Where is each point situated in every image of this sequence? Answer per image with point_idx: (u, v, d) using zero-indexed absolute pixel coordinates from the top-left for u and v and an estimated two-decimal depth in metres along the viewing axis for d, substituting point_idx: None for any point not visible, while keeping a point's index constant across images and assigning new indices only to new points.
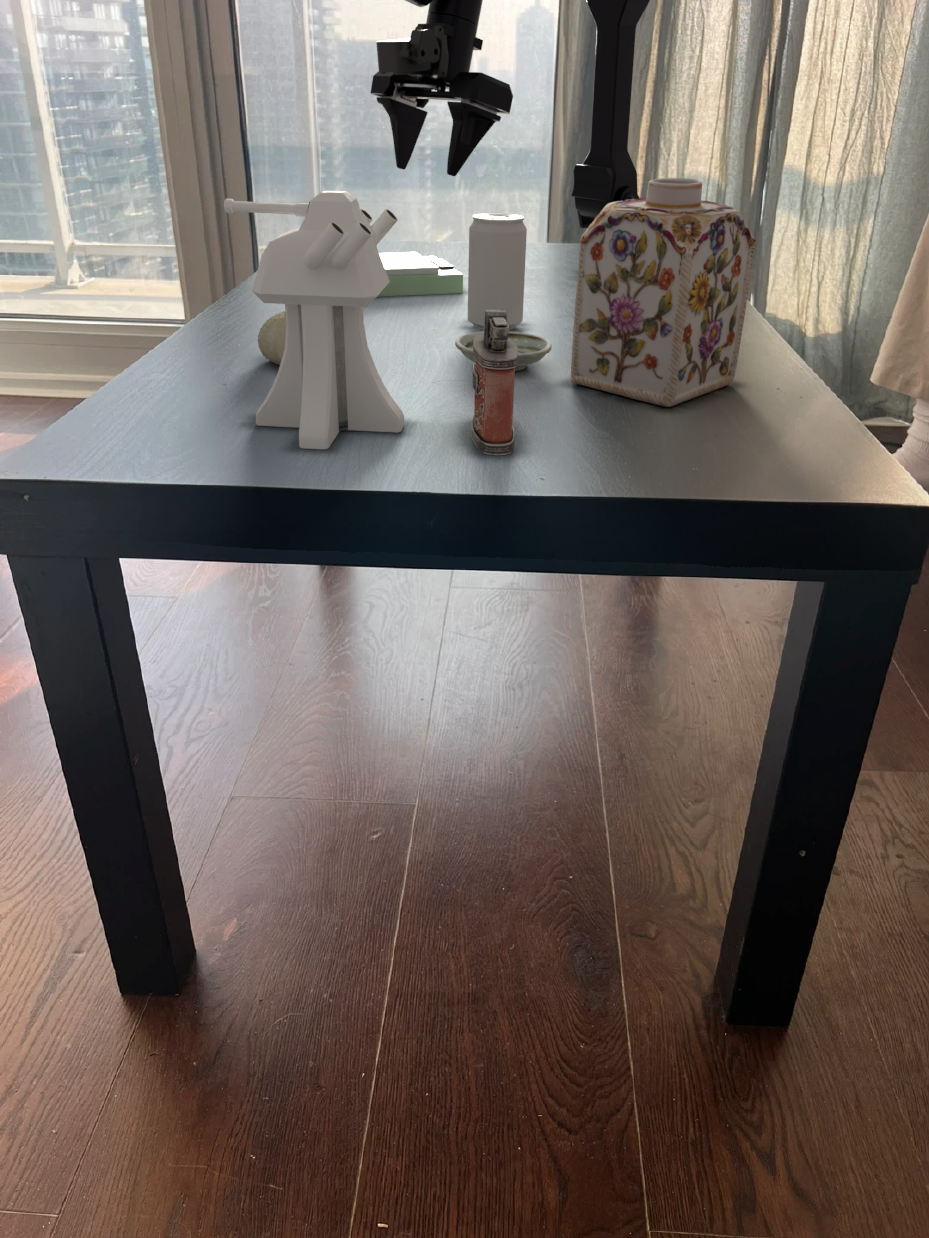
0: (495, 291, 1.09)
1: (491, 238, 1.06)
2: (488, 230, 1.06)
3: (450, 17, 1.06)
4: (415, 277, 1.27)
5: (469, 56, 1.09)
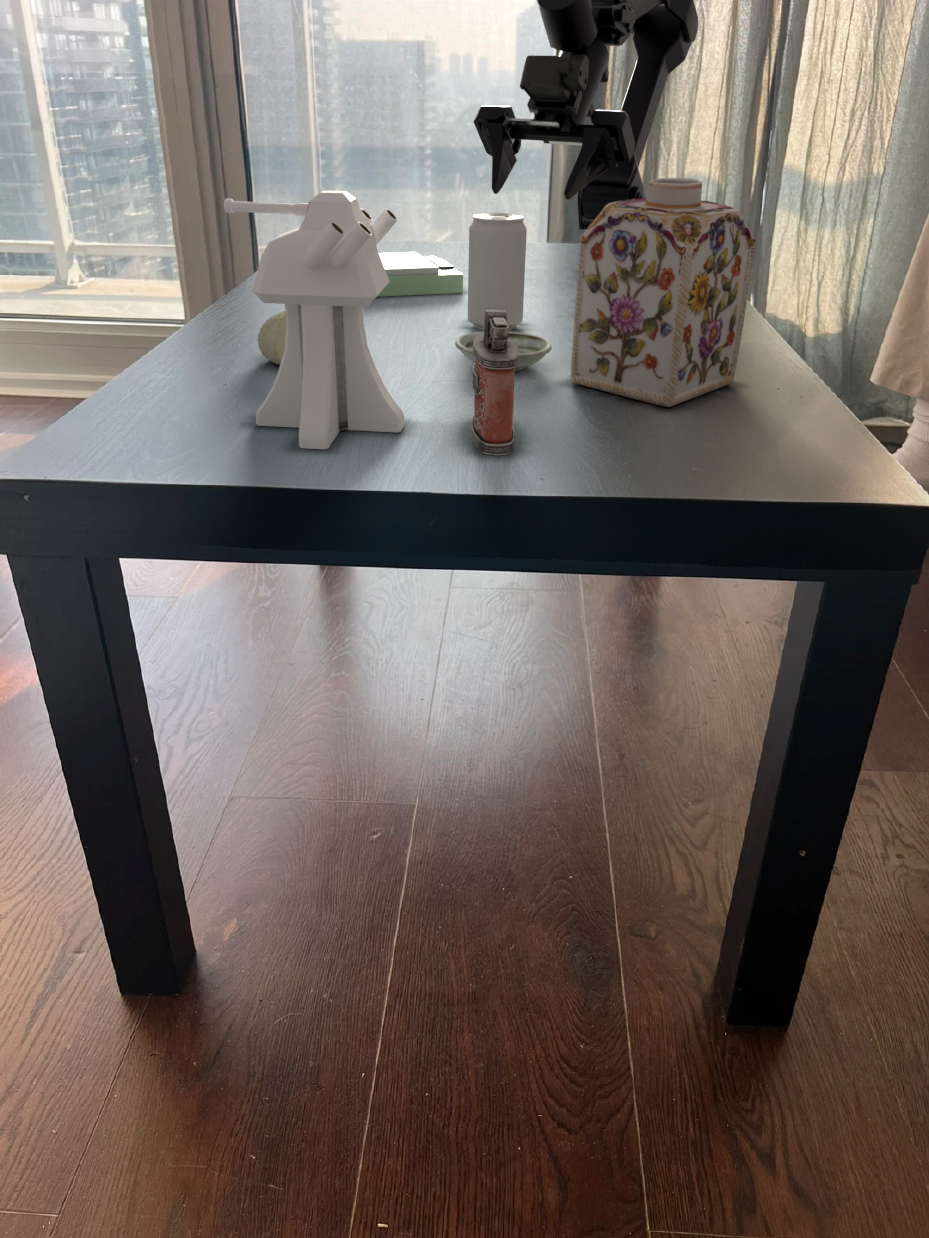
0: (495, 291, 1.09)
1: (491, 238, 1.06)
2: (488, 230, 1.06)
3: None
4: (415, 277, 1.27)
5: (587, 113, 1.15)
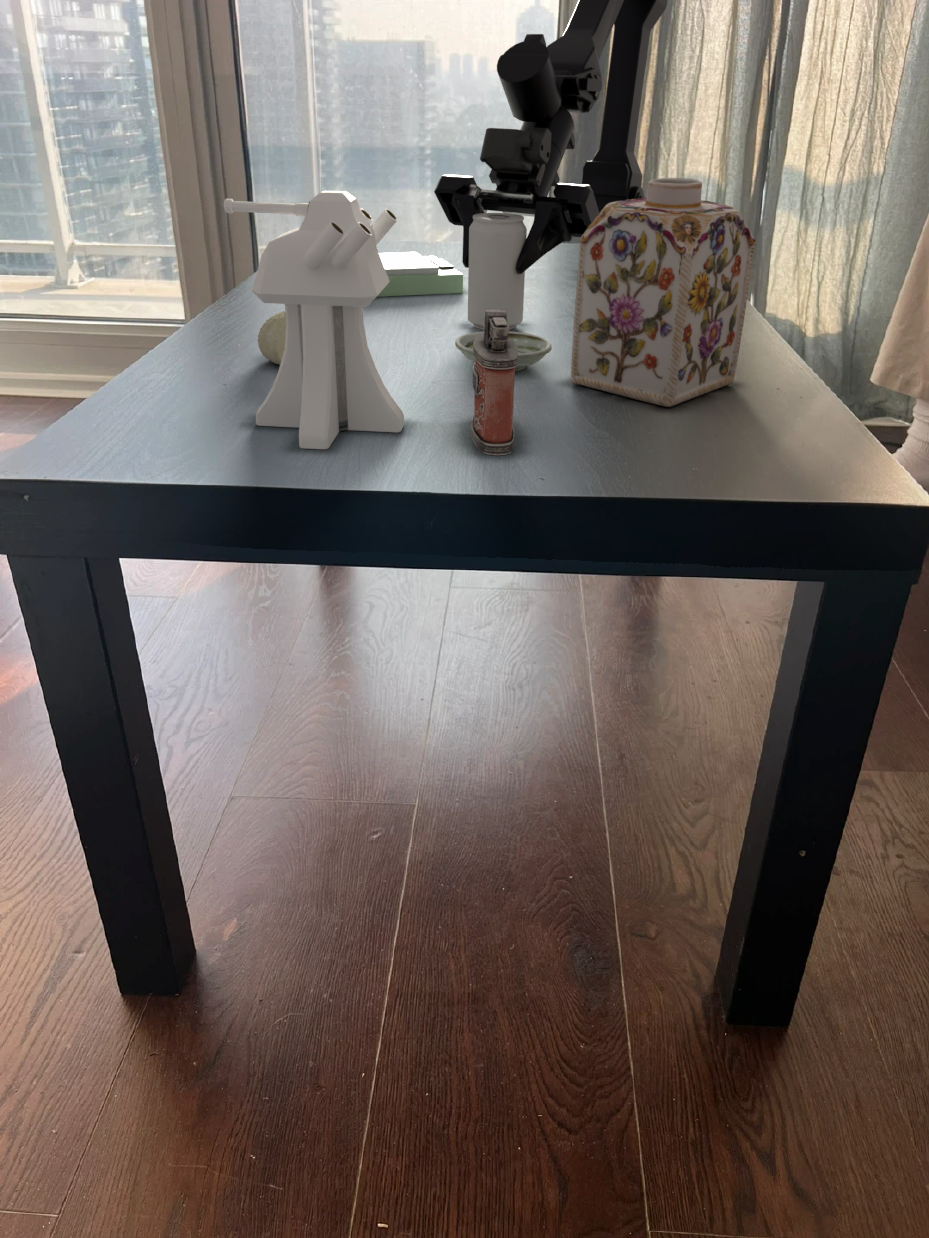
0: (495, 292, 1.09)
1: (491, 238, 1.06)
2: (488, 230, 1.06)
3: None
4: (415, 277, 1.27)
5: (551, 184, 1.12)
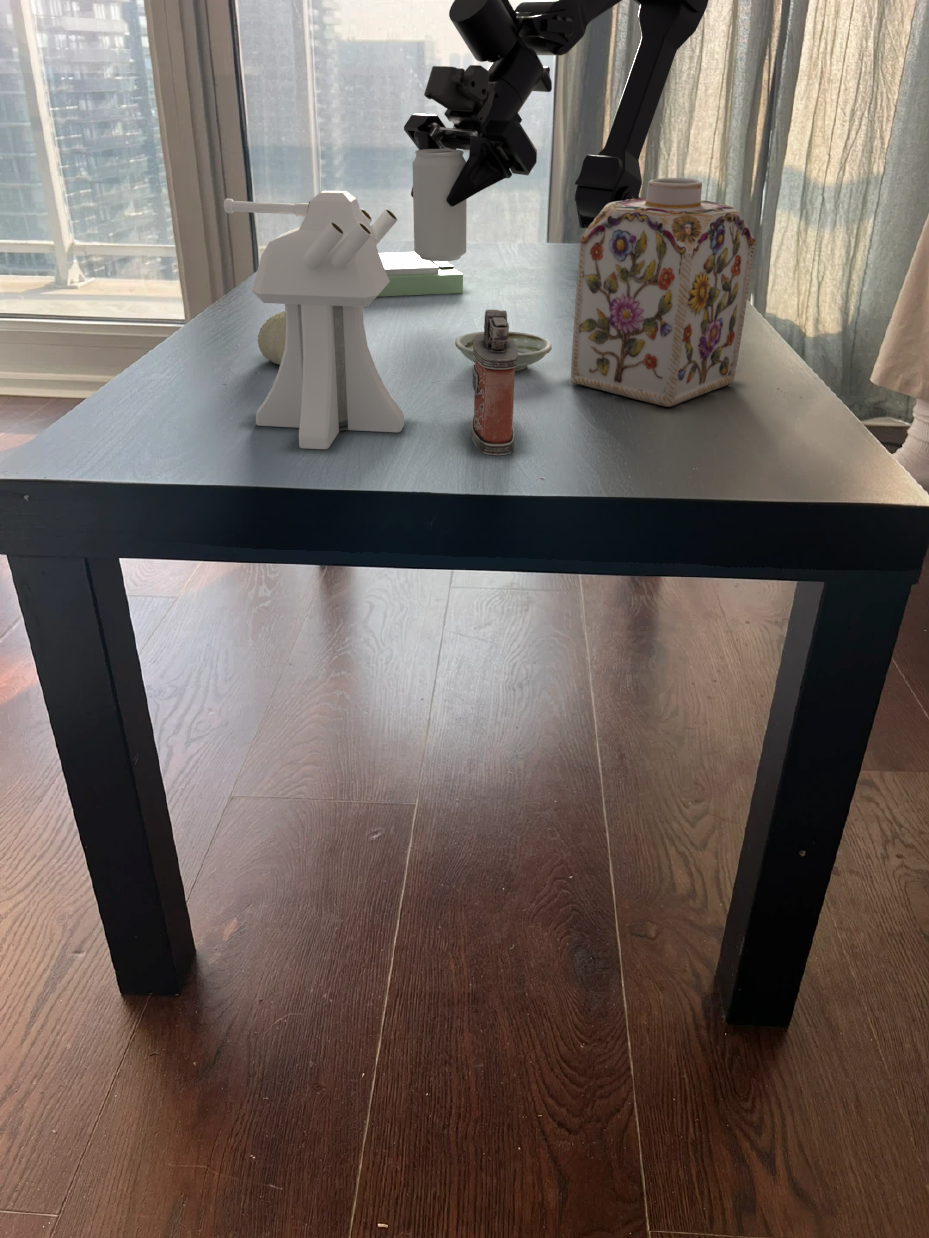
0: (428, 222, 1.15)
1: (423, 170, 1.13)
2: (421, 163, 1.13)
3: (503, 81, 1.14)
4: (415, 277, 1.27)
5: None
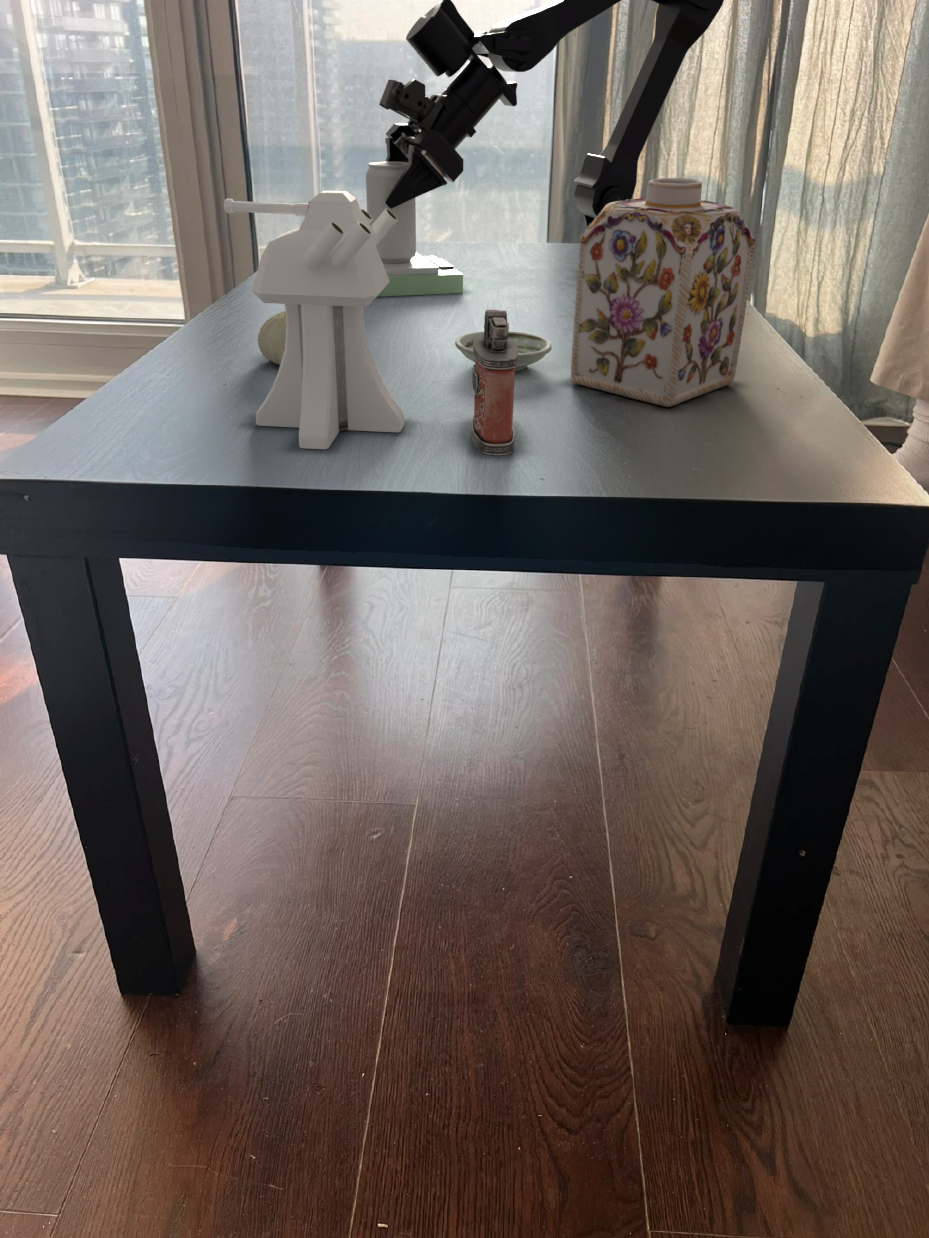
0: None
1: (368, 180, 1.25)
2: (367, 173, 1.25)
3: (454, 95, 1.22)
4: (415, 277, 1.27)
5: (456, 134, 1.24)
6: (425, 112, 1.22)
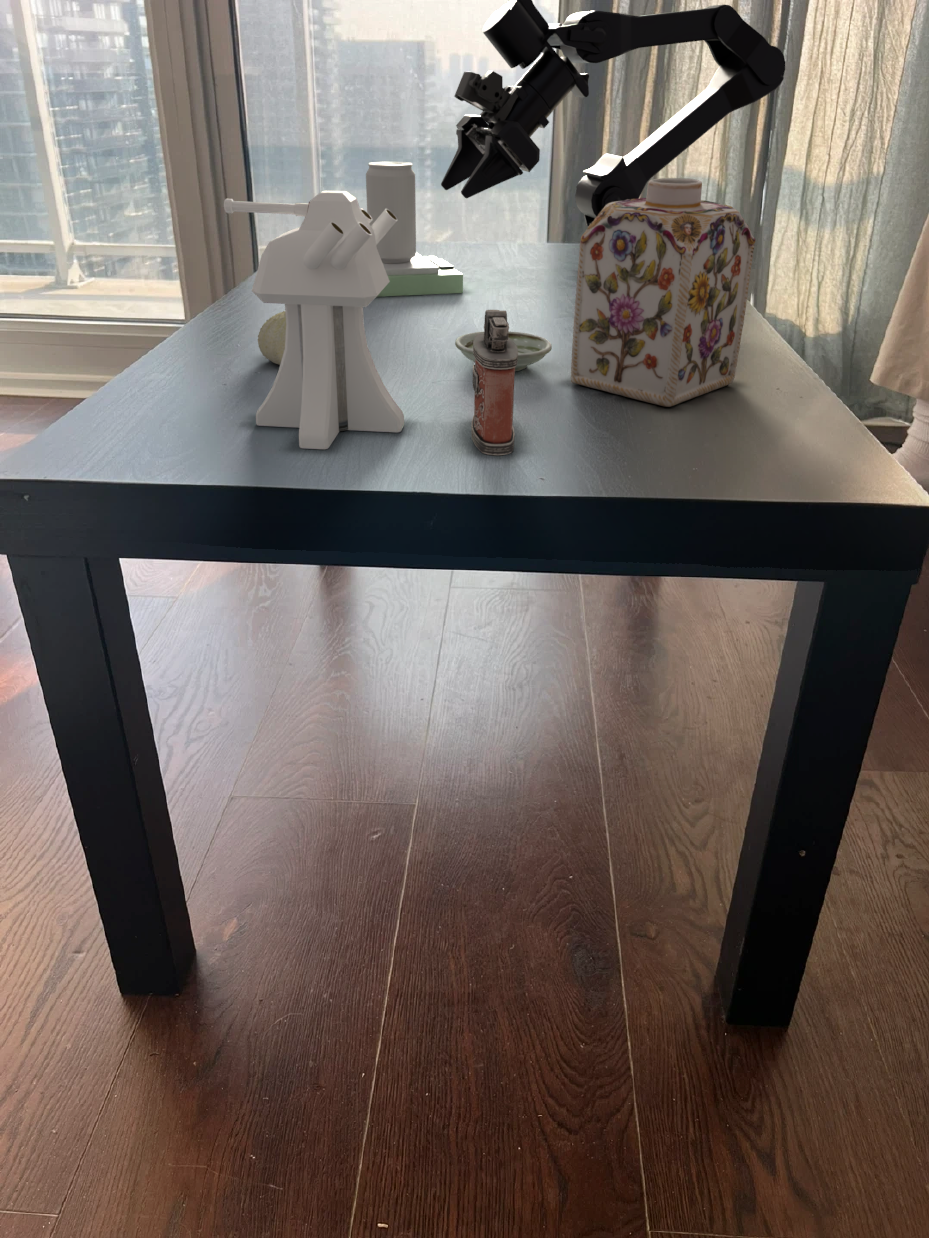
0: None
1: (368, 180, 1.25)
2: (368, 173, 1.25)
3: (529, 86, 1.25)
4: (415, 277, 1.27)
5: (530, 124, 1.26)
6: (501, 103, 1.24)
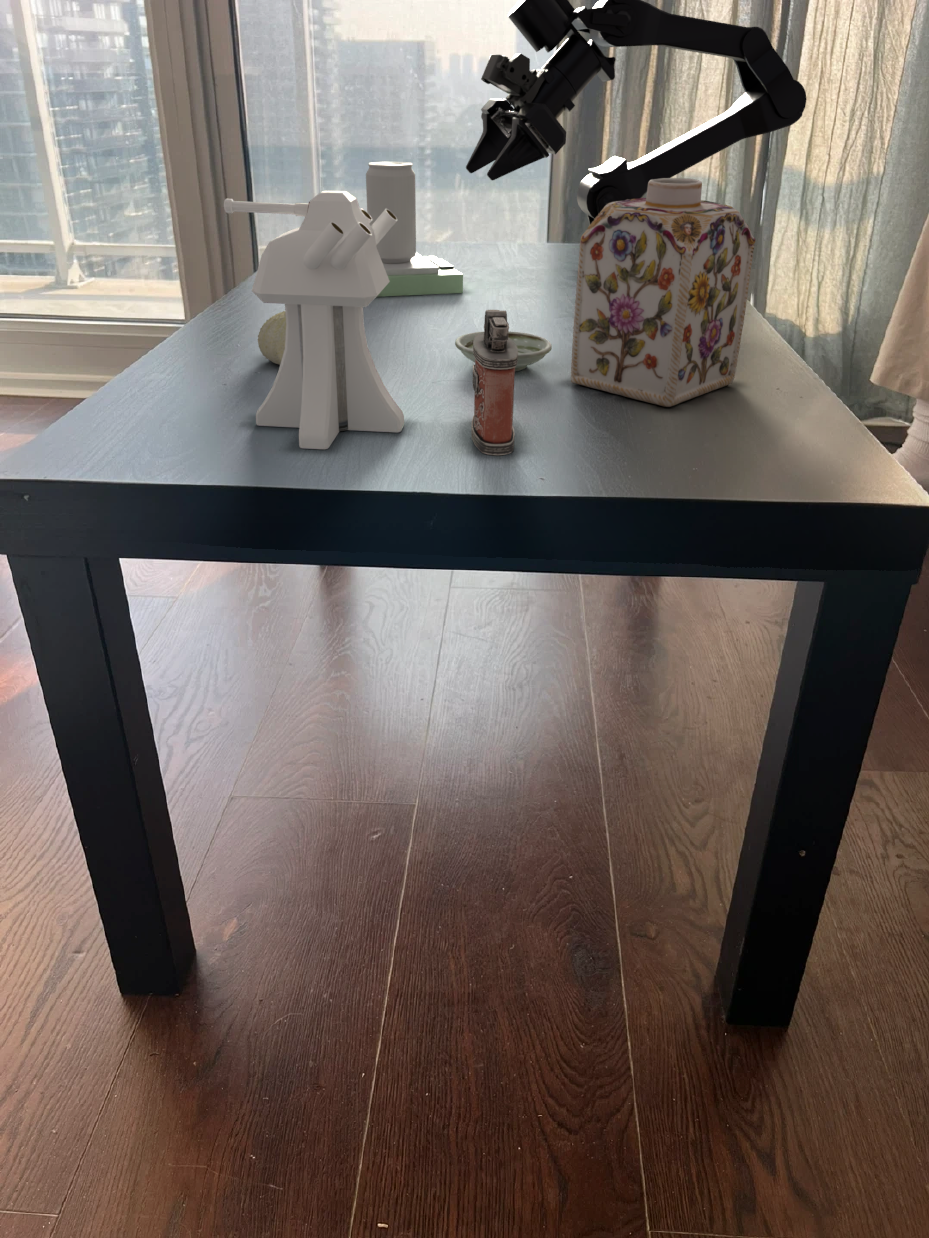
0: None
1: (368, 180, 1.25)
2: (368, 173, 1.25)
3: (555, 70, 1.25)
4: (415, 277, 1.27)
5: (556, 108, 1.27)
6: (527, 86, 1.25)
